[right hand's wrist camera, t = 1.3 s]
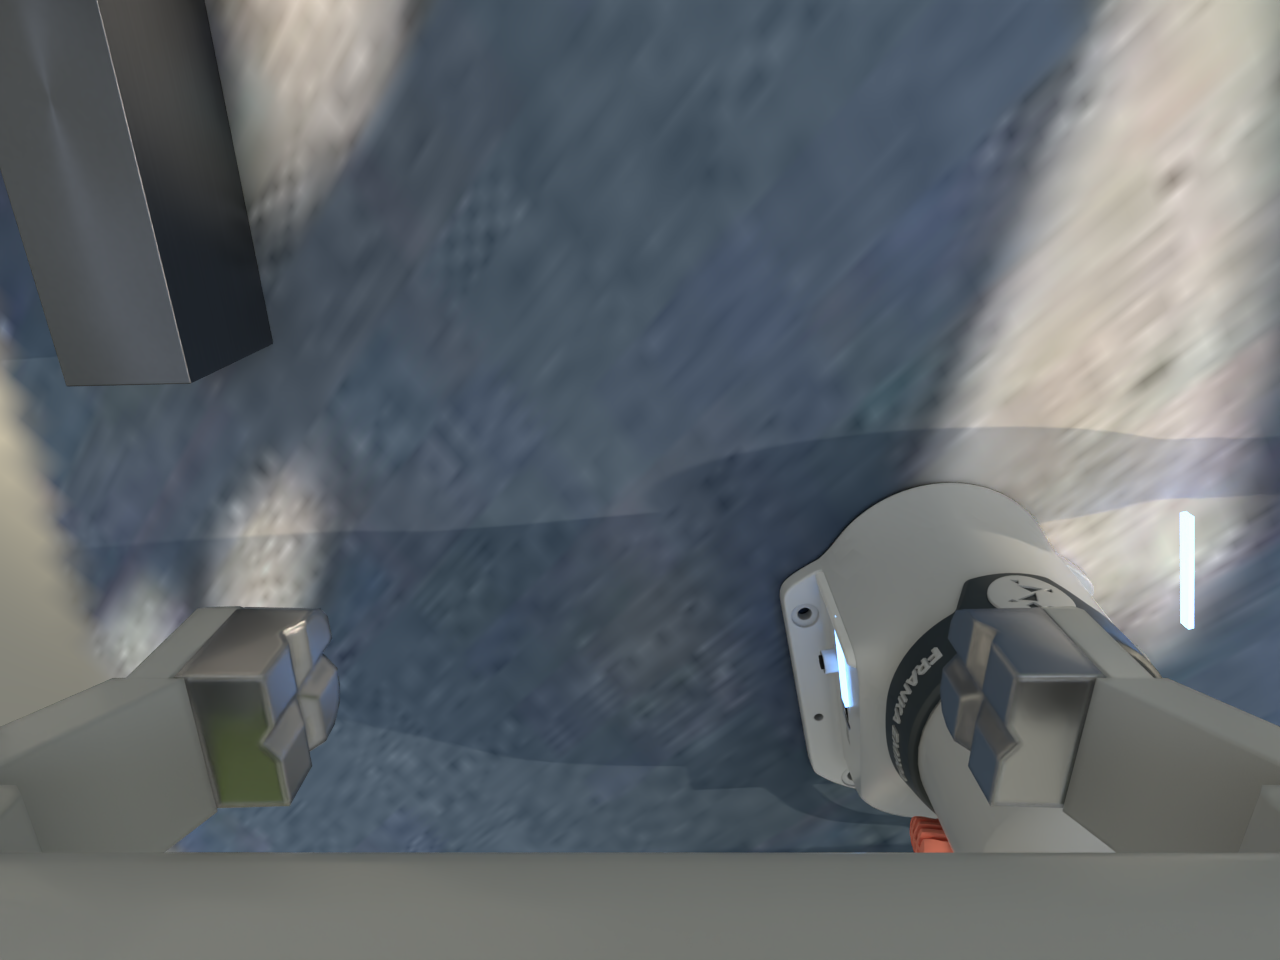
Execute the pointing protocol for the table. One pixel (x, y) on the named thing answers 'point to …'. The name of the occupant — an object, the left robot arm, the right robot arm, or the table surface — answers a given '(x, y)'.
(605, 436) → the table surface
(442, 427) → the table surface
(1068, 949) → the right robot arm
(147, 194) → the bar
